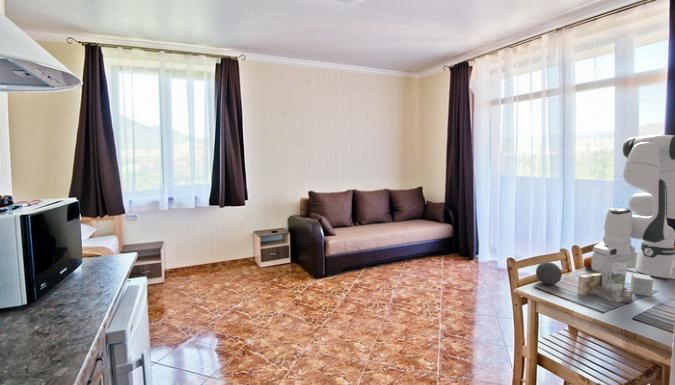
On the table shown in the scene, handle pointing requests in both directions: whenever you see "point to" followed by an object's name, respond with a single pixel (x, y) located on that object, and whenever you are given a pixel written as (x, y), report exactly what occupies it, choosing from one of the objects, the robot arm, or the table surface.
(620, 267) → the syrup box
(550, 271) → the decorative ball
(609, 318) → the table surface
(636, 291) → the product box
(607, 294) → the wooden table
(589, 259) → the fruit
